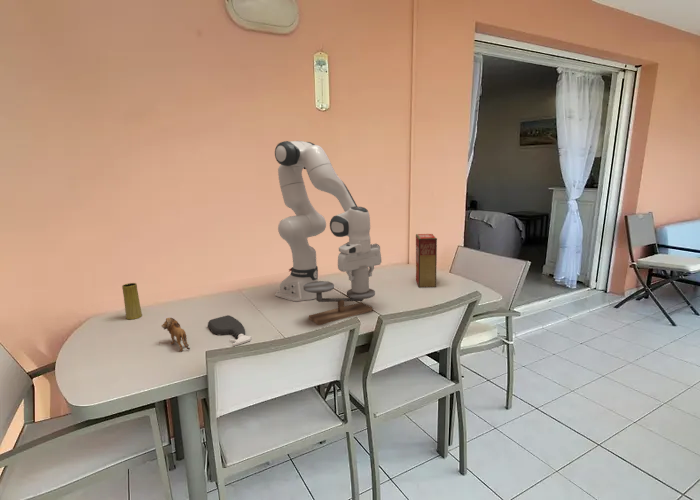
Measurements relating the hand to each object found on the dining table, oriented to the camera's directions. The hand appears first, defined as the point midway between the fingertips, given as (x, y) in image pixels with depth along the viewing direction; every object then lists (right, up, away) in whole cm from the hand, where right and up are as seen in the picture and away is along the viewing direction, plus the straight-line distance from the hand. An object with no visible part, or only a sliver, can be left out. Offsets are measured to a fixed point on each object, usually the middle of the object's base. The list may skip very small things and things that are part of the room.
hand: (360, 278), depth 163 cm
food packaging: (+35, -6, +37) cm, 51 cm away
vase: (-96, -17, +1) cm, 98 cm away
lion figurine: (-65, -22, -26) cm, 74 cm away
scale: (-8, -15, -2) cm, 17 cm away
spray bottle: (-49, -20, -17) cm, 56 cm away
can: (0, -6, +2) cm, 6 cm away
